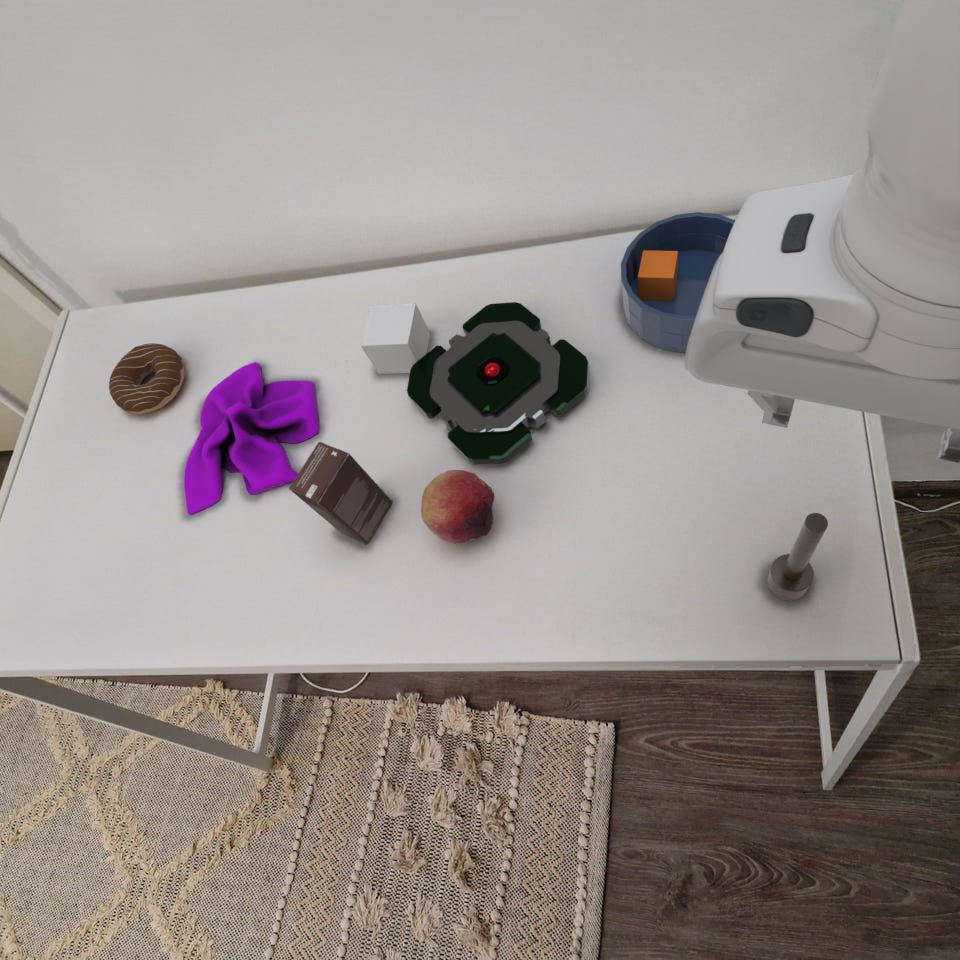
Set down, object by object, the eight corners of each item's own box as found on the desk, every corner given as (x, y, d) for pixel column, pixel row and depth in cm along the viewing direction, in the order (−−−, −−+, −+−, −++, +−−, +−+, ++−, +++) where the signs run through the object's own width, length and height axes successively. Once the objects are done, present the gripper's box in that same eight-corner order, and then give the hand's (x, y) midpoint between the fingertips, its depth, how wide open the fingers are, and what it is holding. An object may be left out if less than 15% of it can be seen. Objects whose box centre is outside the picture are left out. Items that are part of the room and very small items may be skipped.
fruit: (457, 479, 80) (437, 446, 73) (515, 505, 77) (500, 472, 70) (422, 537, 78) (397, 508, 71) (480, 566, 75) (461, 539, 68)
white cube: (423, 372, 88) (407, 344, 82) (378, 374, 89) (360, 346, 84) (430, 333, 90) (415, 302, 85) (386, 335, 92) (369, 305, 87)
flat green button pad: (489, 484, 79) (479, 466, 75) (399, 392, 87) (386, 371, 83) (607, 384, 81) (604, 360, 77) (508, 303, 89) (500, 279, 85)
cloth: (227, 359, 97) (202, 332, 91) (344, 377, 90) (324, 349, 85) (152, 505, 89) (118, 484, 83) (274, 535, 82) (246, 515, 77)
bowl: (771, 258, 83) (778, 220, 78) (740, 363, 78) (745, 330, 73) (644, 242, 88) (643, 206, 83) (607, 339, 83) (603, 307, 78)
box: (363, 488, 82) (318, 438, 72) (394, 502, 81) (352, 453, 70) (335, 532, 81) (285, 488, 70) (366, 547, 79) (320, 504, 68)
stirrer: (810, 569, 67) (845, 506, 54) (804, 605, 65) (838, 549, 52) (770, 560, 68) (795, 496, 55) (763, 595, 67) (787, 538, 54)
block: (677, 274, 84) (678, 250, 81) (673, 301, 83) (673, 278, 79) (643, 273, 86) (642, 250, 82) (638, 299, 84) (637, 276, 81)
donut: (150, 347, 101) (132, 330, 98) (204, 363, 97) (187, 346, 94) (107, 408, 98) (87, 392, 94) (161, 427, 94) (142, 412, 90)
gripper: (1268, 242, 26) (1080, 425, 39) (713, 190, 34) (701, 358, 46) (1270, 380, 24) (1070, 528, 36) (677, 293, 32) (674, 440, 44)
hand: (861, 432), depth 41 cm, fingers open, 8 cm apart
